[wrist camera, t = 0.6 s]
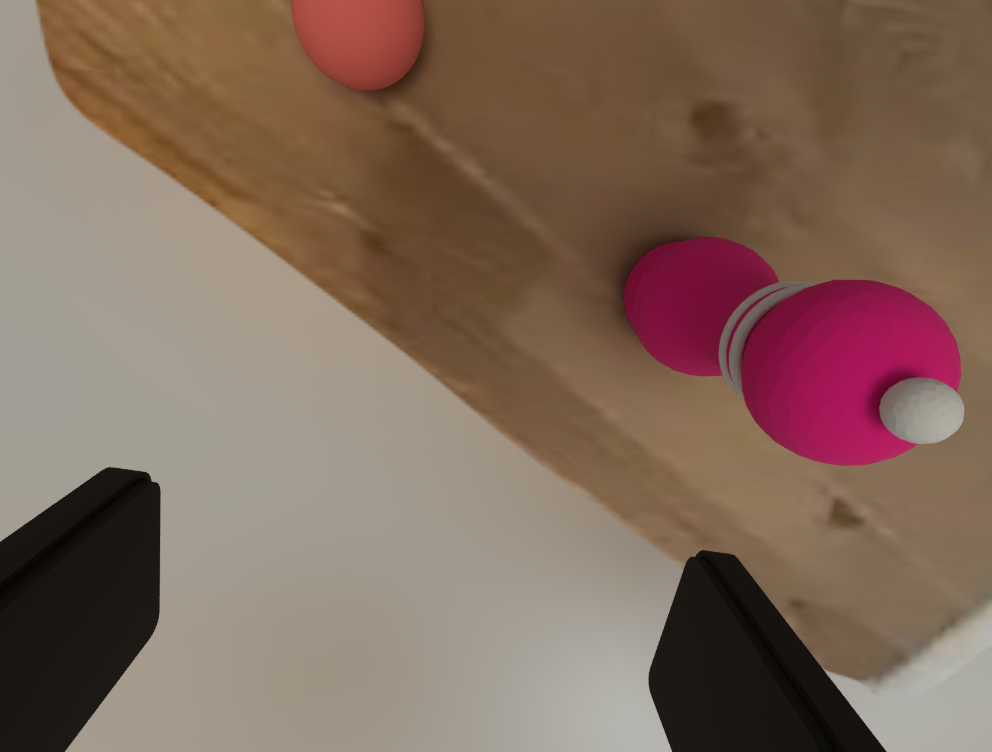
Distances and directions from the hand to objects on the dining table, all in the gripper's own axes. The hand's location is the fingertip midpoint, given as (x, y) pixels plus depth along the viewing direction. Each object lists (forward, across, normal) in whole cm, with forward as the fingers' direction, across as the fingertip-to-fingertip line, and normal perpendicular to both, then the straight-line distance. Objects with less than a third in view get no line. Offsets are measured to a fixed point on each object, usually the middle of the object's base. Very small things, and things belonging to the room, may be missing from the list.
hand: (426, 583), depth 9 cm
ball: (+21, +7, -14) cm, 26 cm away
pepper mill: (+24, -13, -4) cm, 28 cm away
